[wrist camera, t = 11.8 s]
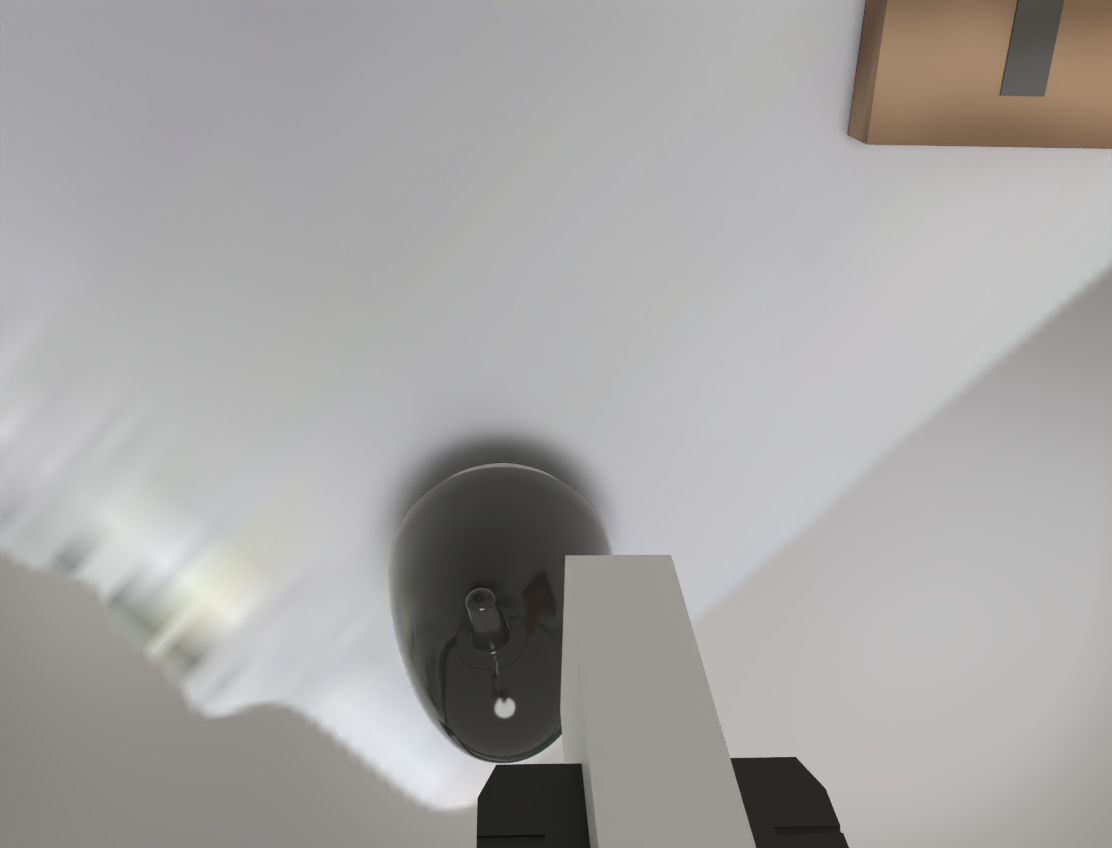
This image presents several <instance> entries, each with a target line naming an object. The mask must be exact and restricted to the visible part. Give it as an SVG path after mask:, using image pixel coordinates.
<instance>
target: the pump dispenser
mask: <svg viewBox="0 0 1112 848" xmlns="http://www.w3.org/2000/svg"><path fill="white" fill-rule="evenodd" d="M569 555H613V554H612V549H611V544H610V540H609V537H608V534H607V531H606V529H605V526H604V524H603V522H602V520H601V519H600V517H599V515H598V514H597V512H596V511H595V510H594V508H593V507H592V506H591V505H590V503H589V502H588V501H587V500H586V499H585V498H584V497H583V496H582V495H580V494H579V493H578V492H577V491H575V490H574V489H573V488H571V487H570V486H568V485H567V484H565V483H563V482H562V481H560V480H559V479H557V478H555V477H554V476H552V475H550V474H548V473H546V472H543V471H541V470H538V469H535V468H533V467H529V466H525V465H519V464H512V463H493V464H485V465H480V466H476V467H472V468H469V469H466V470H464V471H461V472H459V473H457V474H455V475H453V476H451V477H449V478H447V479H446V480H444V481H443V482H441V483H440V484H438V485H436V486H435V487H433V488H432V489H430V490H429V491H428V492H426V493H425V494H424V495H423V496H422V497H421V498H420V499H418V500H417V501H416V503H415V504H414V505H413V506H412V507H411V508H410V510H409V511H408V512H407V514H406V515H405V517H404V518H403V520H402V522H401V523H400V525H399V527H398V530H397V532H396V535H395V537H394V541H393V544H392V549H391V554H390V561H389V577H388V580H389V596H390V606H391V614H392V620H393V626H394V631H395V636H396V640H397V643H398V647H399V651H400V654H401V657H402V661H403V664H404V667H405V670H406V673H407V676H408V679H409V681H410V684H411V686H412V689H413V691H414V693H415V696H416V698H417V700H418V702H419V703H420V705H421V707H422V709H423V710H424V712H425V714H426V715H427V717H428V718H429V720H430V721H431V723H432V724H433V725H434V727H435V728H436V729H437V730H438V731H439V732H440V734H441V735H442V736H443V737H444V738H445V739H446V740H447V741H449V742H450V743H451V744H452V745H453V746H455V747H456V748H457V749H459V750H460V751H462V752H463V753H465V754H467V755H469V756H471V757H473V758H475V759H478V760H481V761H485V762H490V763H513V762H519V761H522V760H525V759H528V758H531V757H533V756H535V755H537V754H539V753H540V752H542V751H544V750H545V749H546V748H548V747H549V746H550V745H551V744H553V743H554V742H555V741H556V740H557V739H558V738H559V737H560V736H561V735H562V726H561V714H560V702H561V672H562V642H563V612H564V583H565V556H569Z"/></svg>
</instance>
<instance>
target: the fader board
mask: <svg viewBox="0 0 1112 848" xmlns="http://www.w3.org/2000/svg"><path fill="white" fill-rule="evenodd" d="M848 135H849V136H851V137H853V138H855V139H857V140H859V141H861V142H863V143H865V144H875V145H931V146H987V147H1043V148H1099V149H1112V0H866V4H865V11H864V18H863V26H862V33H861V41H860V48H859V55H858V63H857V70H856V77H855V85H854V92H853V100H852V107H851V114H850V122H849V129H848Z"/></svg>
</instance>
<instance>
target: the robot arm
mask: <svg viewBox="0 0 1112 848" xmlns="http://www.w3.org/2000/svg"><path fill="white" fill-rule="evenodd" d="M560 714H561V726H562V738H563V750H564V761H565V764H514V765H496V766H495V768H494V770H493V772H492V774H491V775H490V777H489V779H488V781H487V782H486V784H485V786H484V788H483V789H482V791H481V793H480V795H479V797H478V809H477V848H849V847H848V845H847V842H846V839H845V837H844V834H843V833H841V832H840V824H839V822H838V819H837V817H836V814H835V812H834V809H833V807H832V804H831V801H830V799H829V796H828V794H827V791H826V789H825V788H824V787H823V786H822V785H821V783H820V782H819V781H818V780H817V779H816V778H815V777H814V776H813V775H812V774H811V773H810V772H809V771H808V770H807V769H806V768H805V767H804V766H803V764H802V763H801V762H800V761H799V760H798V759H797V758H796V757H772V758H730V756H729V753H728V749H727V746H726V743H725V739H724V736H723V732H722V729H721V725H720V722H719V718H718V715H717V712H716V708H715V705H714V701H713V698H712V695H711V691H710V688H709V684H708V681H707V677H706V674H705V670H704V667H703V664H702V660H701V657H700V653H699V650H698V647H697V643H696V639H695V636H694V633H693V629H692V626H691V622H690V619H689V615H688V612H687V609H686V605H685V602H684V598H683V595H682V591H681V588H680V585H679V581H678V578H677V574H676V571H675V567H674V564H673V561H672V557H671V555H569V556H565V583H564V612H563V642H562V672H561V702H560Z"/></svg>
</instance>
